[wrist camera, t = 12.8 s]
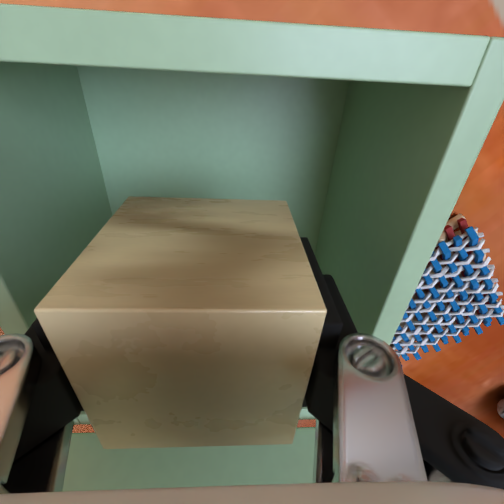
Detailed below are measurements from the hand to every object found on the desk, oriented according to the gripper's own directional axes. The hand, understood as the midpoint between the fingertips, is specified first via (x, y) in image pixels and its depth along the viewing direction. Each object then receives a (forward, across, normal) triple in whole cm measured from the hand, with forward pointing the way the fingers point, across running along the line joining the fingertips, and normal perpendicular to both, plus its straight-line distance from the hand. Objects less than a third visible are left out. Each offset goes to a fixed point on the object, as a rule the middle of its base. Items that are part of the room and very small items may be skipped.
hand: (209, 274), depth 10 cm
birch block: (+1, 0, 0) cm, 1 cm away
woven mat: (+8, -14, +8) cm, 18 cm away
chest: (+8, 0, +1) cm, 8 cm away
